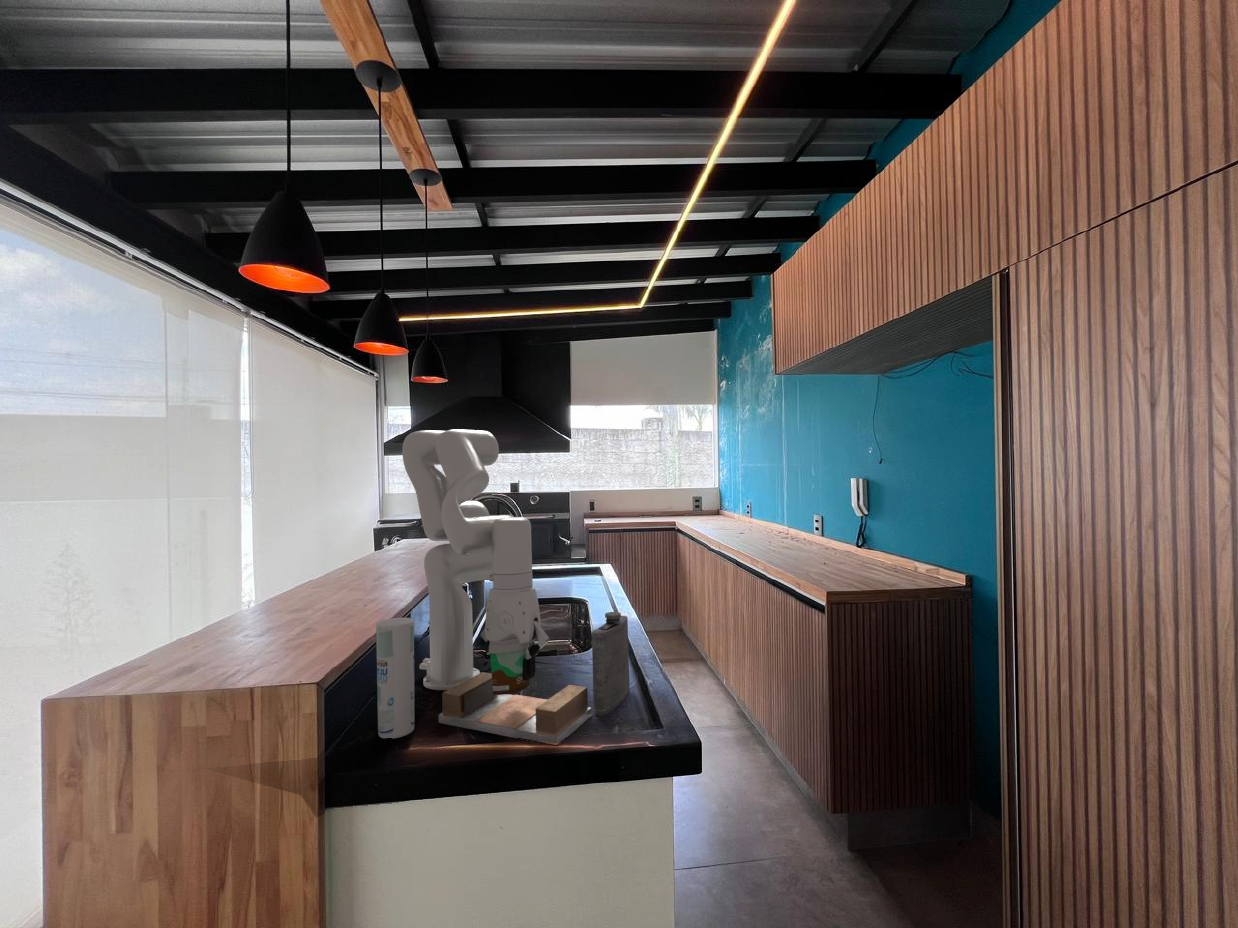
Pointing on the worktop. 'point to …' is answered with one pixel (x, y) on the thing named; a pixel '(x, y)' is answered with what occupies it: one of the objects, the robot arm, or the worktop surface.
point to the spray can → (395, 677)
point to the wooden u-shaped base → (514, 711)
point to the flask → (610, 663)
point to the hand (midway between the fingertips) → (515, 675)
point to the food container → (507, 666)
